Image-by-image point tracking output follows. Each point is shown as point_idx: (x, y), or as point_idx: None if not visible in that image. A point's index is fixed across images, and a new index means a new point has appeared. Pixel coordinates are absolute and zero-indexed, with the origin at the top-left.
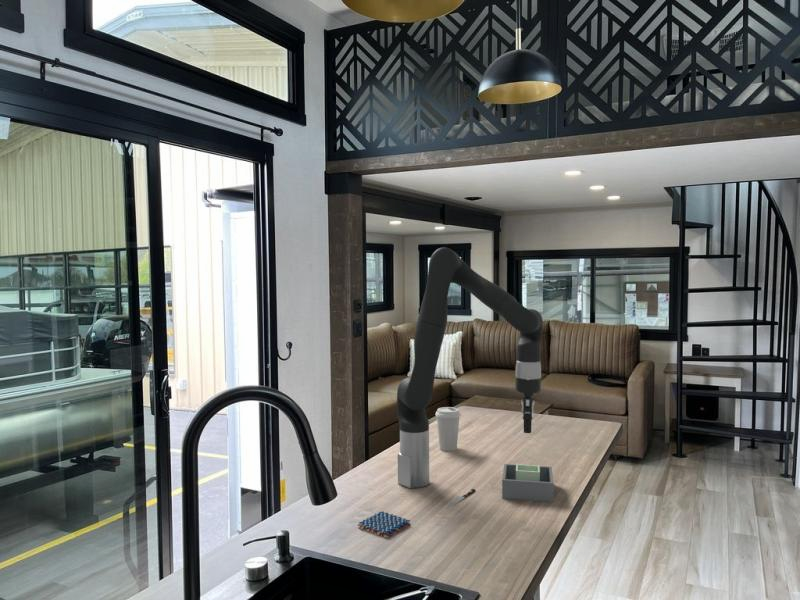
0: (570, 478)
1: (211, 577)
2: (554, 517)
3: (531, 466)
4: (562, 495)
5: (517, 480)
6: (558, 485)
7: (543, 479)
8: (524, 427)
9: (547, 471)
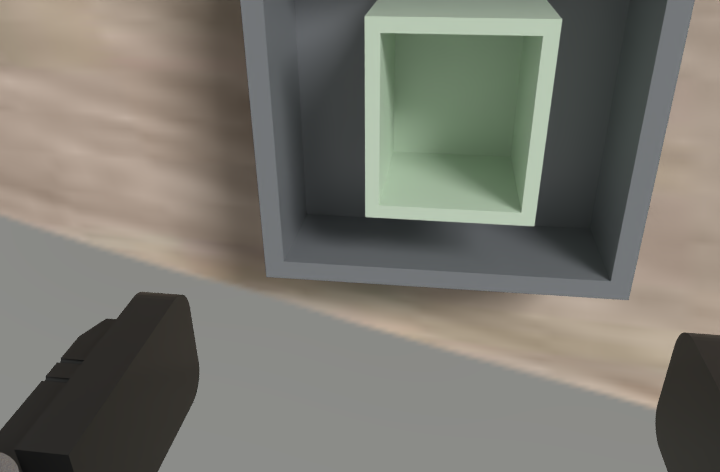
0: None
1: None
2: (95, 206)
3: (526, 158)
4: None
5: (255, 25)
6: None
7: (598, 199)
8: (100, 353)
9: (605, 253)
